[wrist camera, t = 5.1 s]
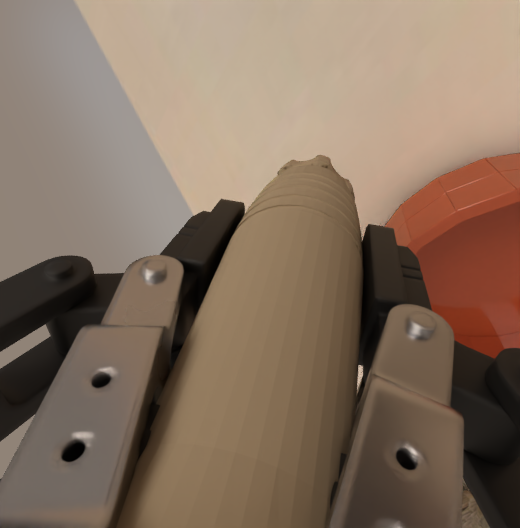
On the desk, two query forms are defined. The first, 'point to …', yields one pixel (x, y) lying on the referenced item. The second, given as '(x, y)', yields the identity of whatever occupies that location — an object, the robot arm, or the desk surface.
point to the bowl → (470, 250)
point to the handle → (263, 370)
